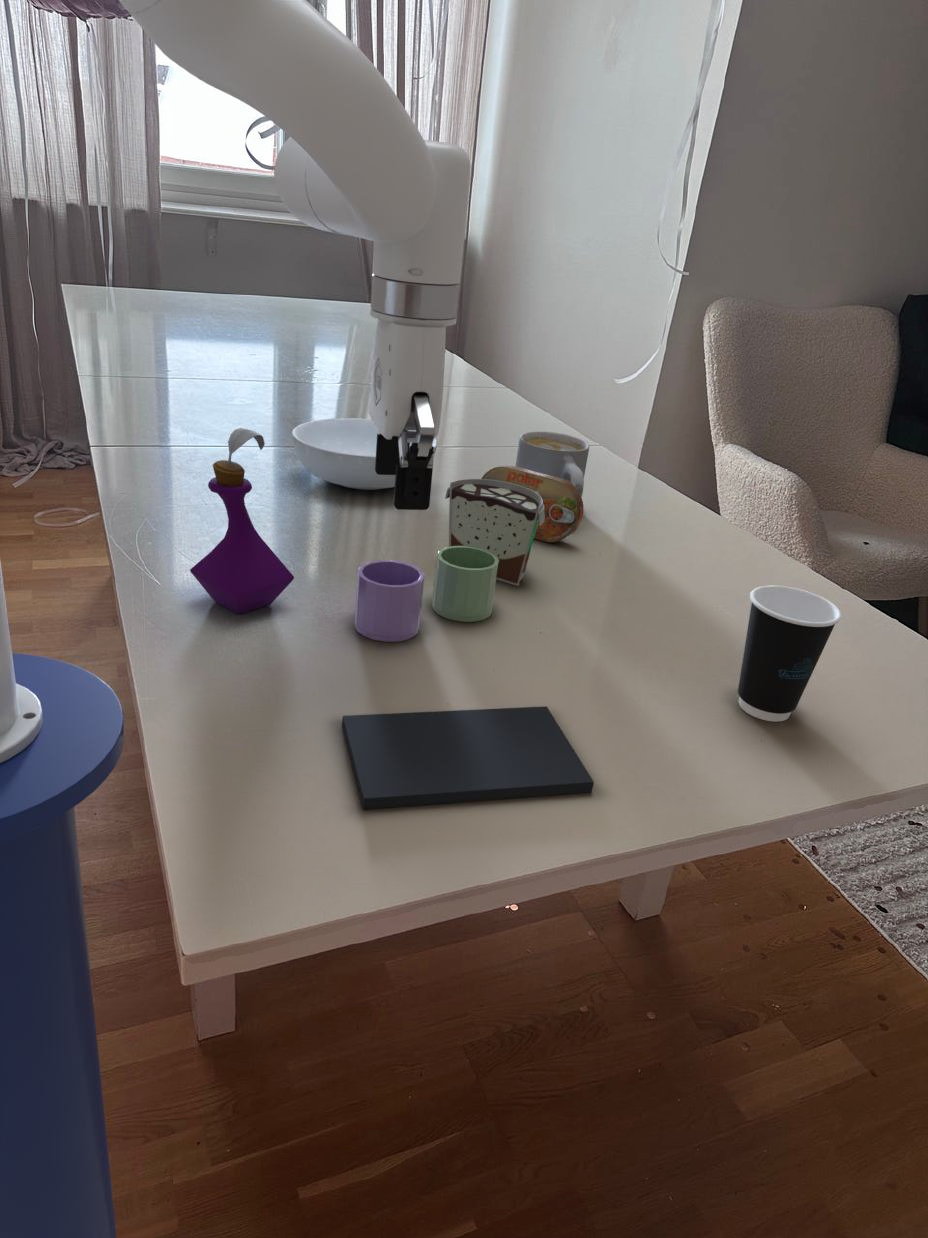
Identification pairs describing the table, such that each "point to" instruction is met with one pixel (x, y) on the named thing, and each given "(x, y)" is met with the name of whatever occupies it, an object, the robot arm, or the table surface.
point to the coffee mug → (554, 456)
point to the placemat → (461, 756)
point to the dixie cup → (782, 648)
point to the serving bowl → (342, 452)
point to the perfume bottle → (240, 544)
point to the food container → (495, 522)
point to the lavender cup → (388, 600)
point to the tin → (547, 500)
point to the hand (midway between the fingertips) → (400, 490)
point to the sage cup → (464, 583)
